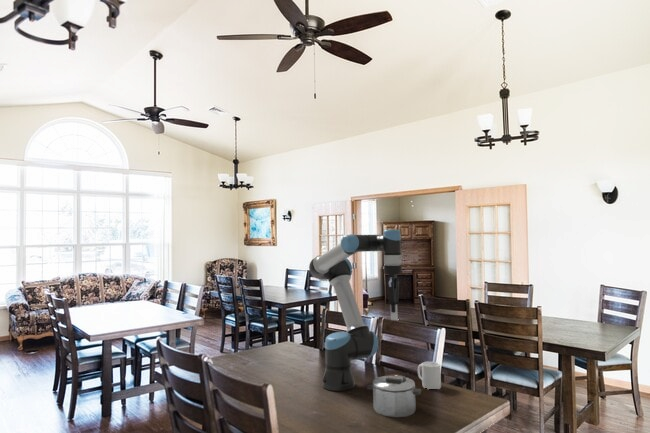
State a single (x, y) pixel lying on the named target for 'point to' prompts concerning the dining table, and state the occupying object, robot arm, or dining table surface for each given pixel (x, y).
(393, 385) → the lid
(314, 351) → the dining table surface
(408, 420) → the dining table surface
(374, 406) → the pot
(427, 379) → the cup
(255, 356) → the dining table surface
